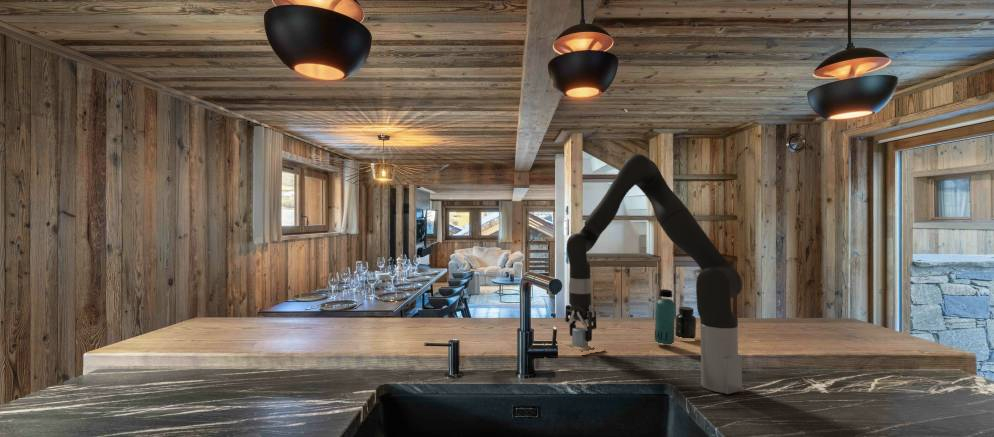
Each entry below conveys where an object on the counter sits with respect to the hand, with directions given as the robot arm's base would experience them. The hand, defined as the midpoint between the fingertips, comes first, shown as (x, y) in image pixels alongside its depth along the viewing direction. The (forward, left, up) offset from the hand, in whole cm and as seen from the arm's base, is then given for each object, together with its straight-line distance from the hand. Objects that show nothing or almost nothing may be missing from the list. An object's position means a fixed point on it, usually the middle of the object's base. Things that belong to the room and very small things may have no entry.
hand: (580, 338), depth 153 cm
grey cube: (0, 0, -2) cm, 2 cm away
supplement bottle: (-10, -40, -4) cm, 41 cm away
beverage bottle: (-12, -27, -4) cm, 30 cm away
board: (-1, 0, -4) cm, 4 cm away
